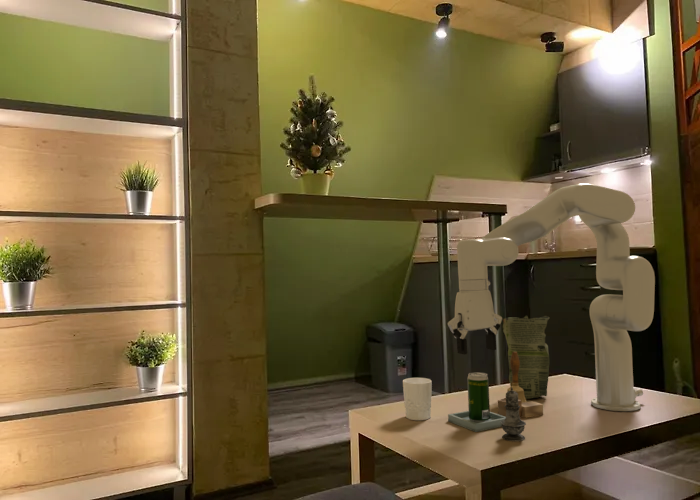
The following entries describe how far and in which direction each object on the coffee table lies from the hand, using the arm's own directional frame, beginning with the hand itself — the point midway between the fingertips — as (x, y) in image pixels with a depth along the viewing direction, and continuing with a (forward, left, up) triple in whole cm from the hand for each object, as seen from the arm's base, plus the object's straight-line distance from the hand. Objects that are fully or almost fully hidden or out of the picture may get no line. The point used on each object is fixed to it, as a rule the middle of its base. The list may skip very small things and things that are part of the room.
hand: (477, 351), depth 142 cm
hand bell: (-19, -6, -19) cm, 27 cm away
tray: (0, 0, -19) cm, 19 cm away
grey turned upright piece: (+1, +14, -19) cm, 23 cm away
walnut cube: (-11, 0, -19) cm, 21 cm away
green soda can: (0, 0, -18) cm, 18 cm away
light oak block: (-17, +1, -19) cm, 25 cm away
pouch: (-32, -14, -19) cm, 39 cm away
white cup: (+10, -13, -19) cm, 25 cm away
